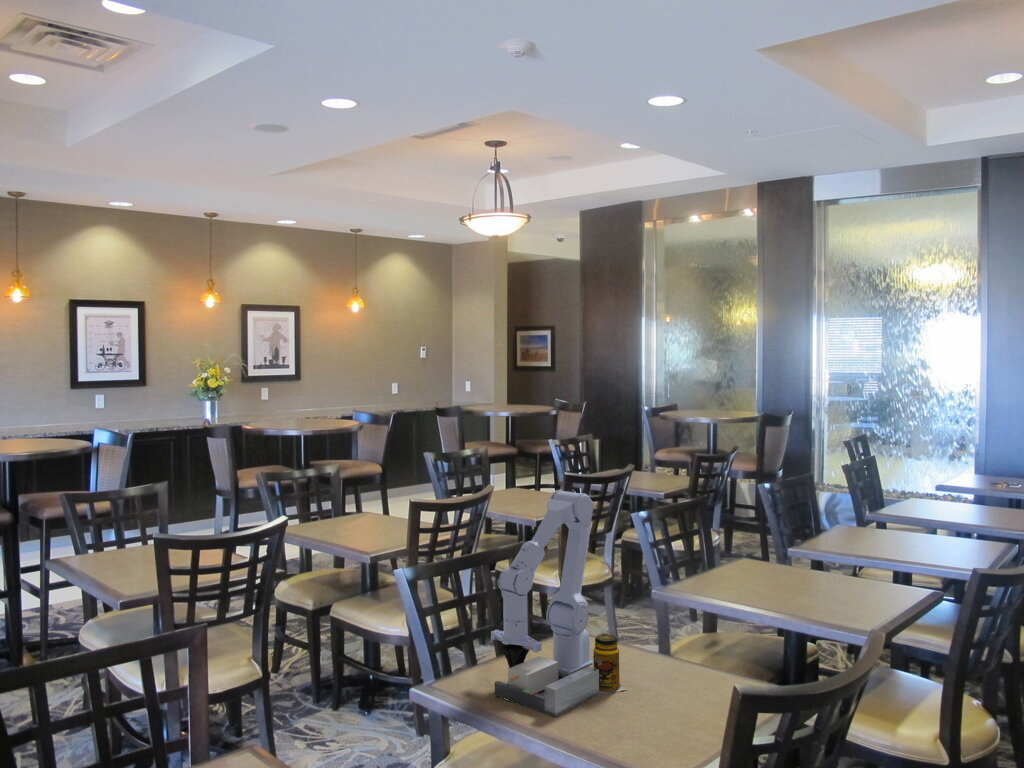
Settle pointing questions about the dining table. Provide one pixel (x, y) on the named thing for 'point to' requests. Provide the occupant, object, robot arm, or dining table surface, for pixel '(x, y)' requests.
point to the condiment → (607, 663)
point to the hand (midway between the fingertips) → (516, 675)
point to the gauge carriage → (533, 674)
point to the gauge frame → (555, 692)
